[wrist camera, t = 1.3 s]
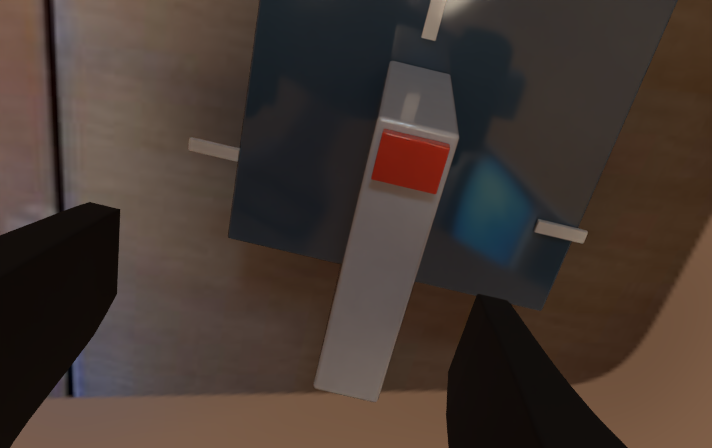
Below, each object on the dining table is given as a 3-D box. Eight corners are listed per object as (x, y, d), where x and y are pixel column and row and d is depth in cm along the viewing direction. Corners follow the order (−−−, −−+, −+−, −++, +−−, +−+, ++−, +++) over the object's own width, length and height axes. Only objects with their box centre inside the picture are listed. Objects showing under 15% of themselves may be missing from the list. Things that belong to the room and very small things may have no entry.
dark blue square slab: (507, 327, 23) (518, 387, 20) (203, 256, 23) (173, 307, 20) (656, -35, 17) (701, -20, 14) (248, -134, 17) (214, -139, 14)
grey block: (386, 298, 19) (376, 412, 15) (335, 286, 19) (310, 396, 15) (452, 73, 16) (461, 140, 12) (389, 59, 16) (377, 120, 12)
